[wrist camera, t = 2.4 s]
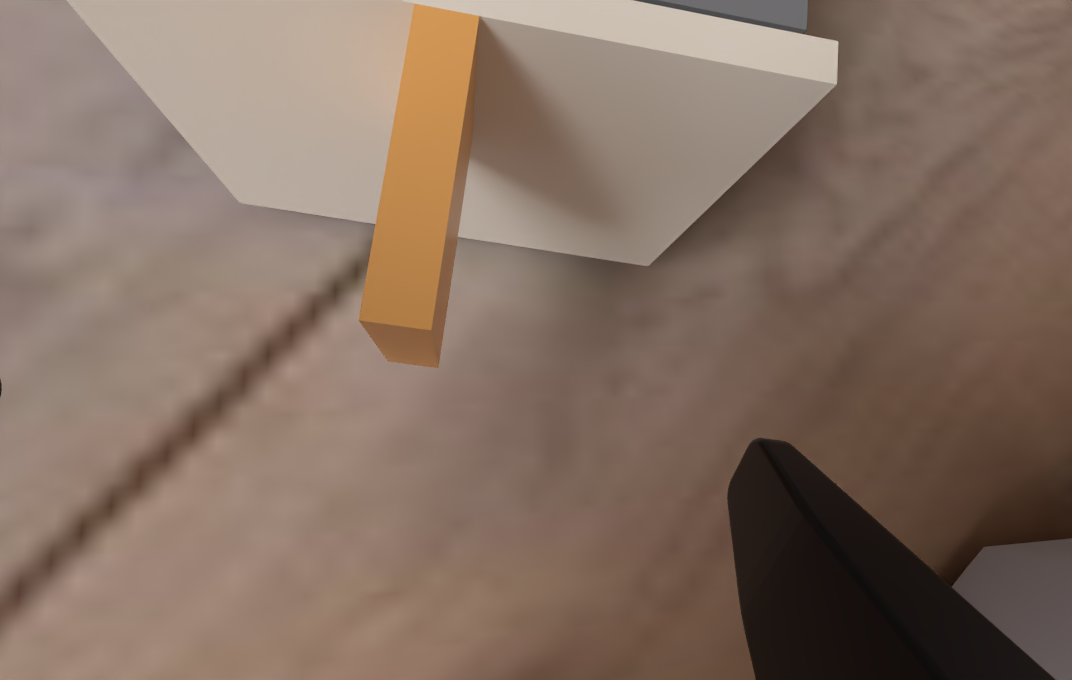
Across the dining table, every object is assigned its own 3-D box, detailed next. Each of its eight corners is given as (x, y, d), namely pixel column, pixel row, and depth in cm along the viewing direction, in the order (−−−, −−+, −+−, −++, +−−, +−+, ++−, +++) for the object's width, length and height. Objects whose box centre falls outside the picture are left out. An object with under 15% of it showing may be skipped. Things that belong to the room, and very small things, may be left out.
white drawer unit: (634, 420, 20) (827, 386, 9) (204, 364, 18) (-106, 255, 8) (675, -42, 23) (853, -439, 13) (310, -117, 21) (180, -630, 11)
